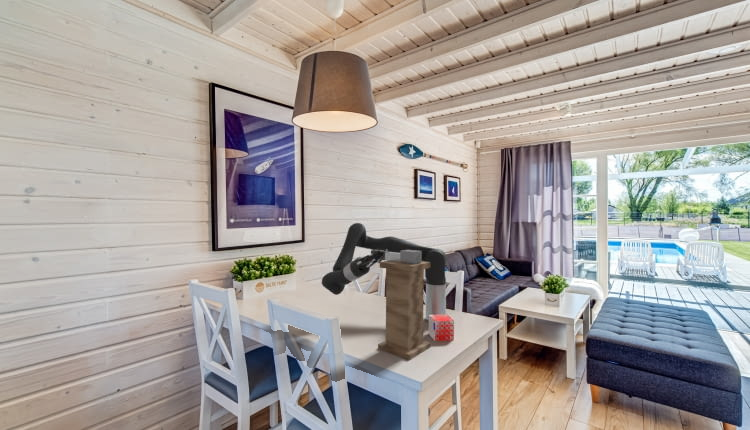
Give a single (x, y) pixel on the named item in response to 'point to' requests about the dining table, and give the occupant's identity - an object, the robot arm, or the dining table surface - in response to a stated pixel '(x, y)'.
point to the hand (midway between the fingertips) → (384, 251)
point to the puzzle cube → (441, 327)
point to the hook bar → (401, 256)
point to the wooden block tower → (404, 309)
